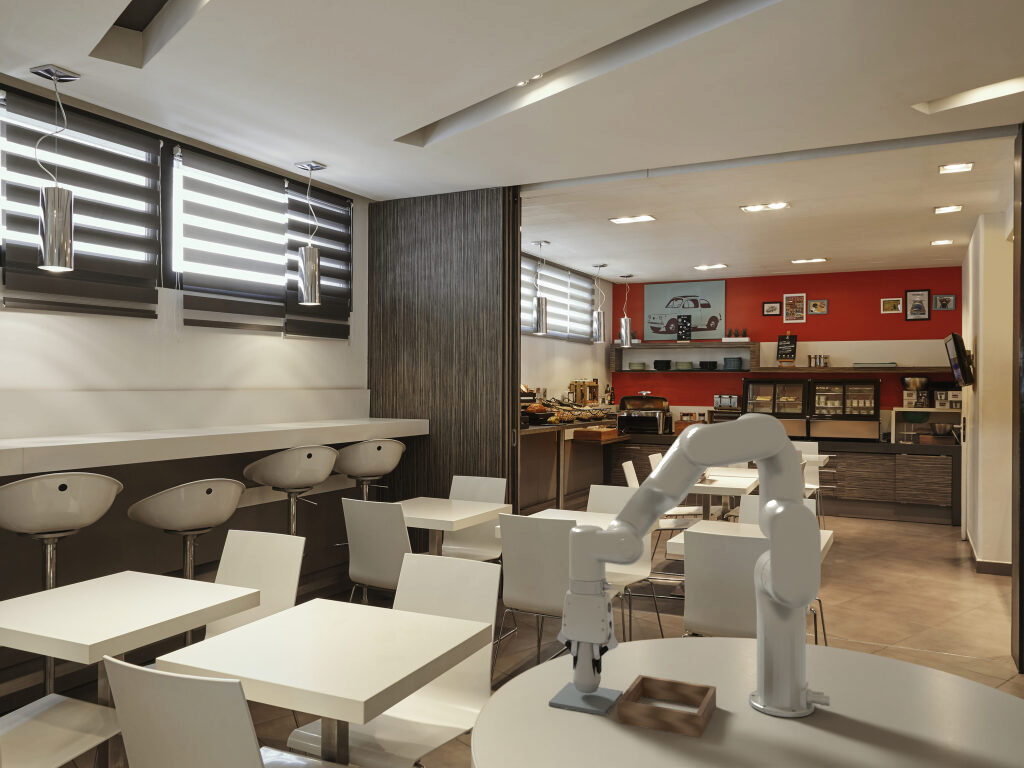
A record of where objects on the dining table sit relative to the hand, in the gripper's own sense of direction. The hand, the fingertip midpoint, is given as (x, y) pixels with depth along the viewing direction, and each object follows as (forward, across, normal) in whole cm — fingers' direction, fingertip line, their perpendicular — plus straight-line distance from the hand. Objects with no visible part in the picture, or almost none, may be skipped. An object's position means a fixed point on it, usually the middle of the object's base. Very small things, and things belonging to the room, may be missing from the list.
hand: (587, 674), depth 162 cm
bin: (+5, -17, 0) cm, 18 cm away
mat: (+5, 0, 0) cm, 5 cm away
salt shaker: (+3, 0, 0) cm, 3 cm away
